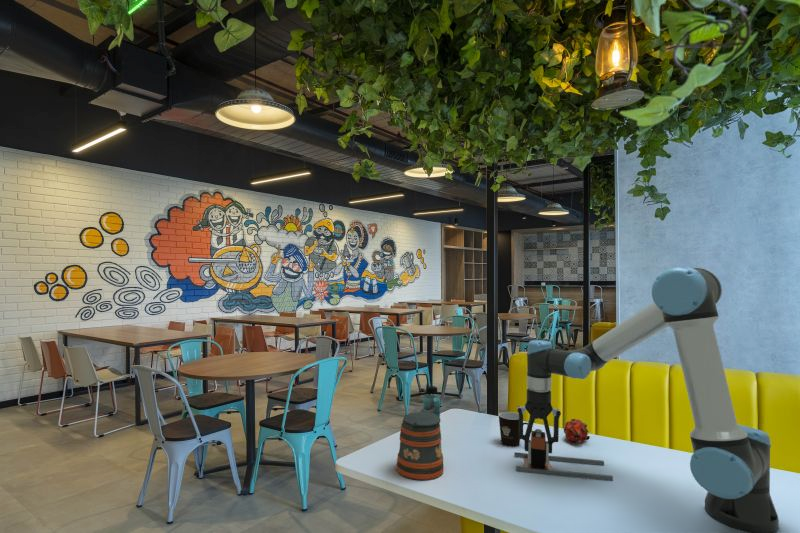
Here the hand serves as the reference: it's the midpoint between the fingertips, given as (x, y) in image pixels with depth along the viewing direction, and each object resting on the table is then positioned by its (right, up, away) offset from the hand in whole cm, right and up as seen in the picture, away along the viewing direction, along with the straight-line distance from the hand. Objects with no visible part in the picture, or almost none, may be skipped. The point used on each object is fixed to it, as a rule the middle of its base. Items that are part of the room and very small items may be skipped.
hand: (538, 461), depth 145 cm
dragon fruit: (+21, -2, +21) cm, 30 cm away
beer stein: (-37, -1, -3) cm, 37 cm away
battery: (0, -1, 0) cm, 1 cm away
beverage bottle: (-33, -1, +18) cm, 38 cm away
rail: (+7, -1, -1) cm, 7 cm away
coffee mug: (-4, -2, +17) cm, 18 cm away
